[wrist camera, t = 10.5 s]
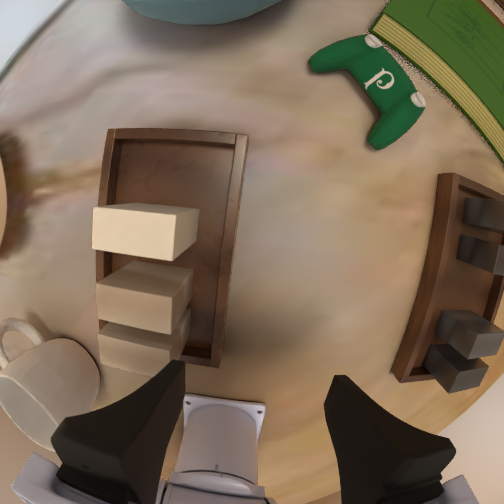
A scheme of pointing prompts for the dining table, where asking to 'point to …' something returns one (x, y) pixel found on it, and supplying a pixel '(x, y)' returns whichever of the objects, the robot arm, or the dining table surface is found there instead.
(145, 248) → the cream rectangular block
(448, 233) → the wooden desk organizer
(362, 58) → the gaming controller
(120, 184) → the brown wooden tray
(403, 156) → the dining table surface
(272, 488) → the dining table surface
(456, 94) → the hardcover book
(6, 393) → the mug
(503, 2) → the book
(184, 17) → the vase
